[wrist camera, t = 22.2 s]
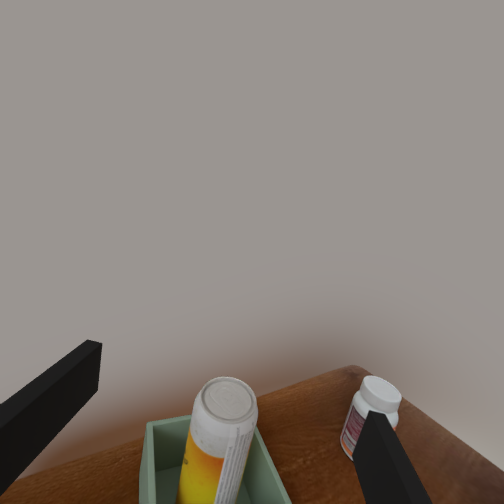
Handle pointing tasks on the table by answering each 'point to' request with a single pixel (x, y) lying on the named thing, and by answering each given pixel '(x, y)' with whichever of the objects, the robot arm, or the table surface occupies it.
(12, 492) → the table surface
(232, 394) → the beer can
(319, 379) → the table surface
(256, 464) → the trash bin
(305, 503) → the table surface
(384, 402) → the pill bottle
